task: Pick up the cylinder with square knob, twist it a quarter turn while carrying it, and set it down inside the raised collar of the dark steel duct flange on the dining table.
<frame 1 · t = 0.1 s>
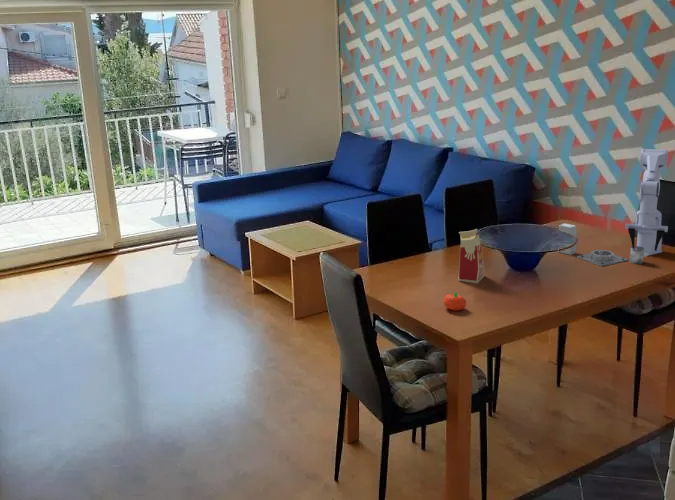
hand: (644, 249, 266), 11 cm above the table, tool pointing down, fingers open, 7 cm apart
duct flange: (602, 258, 291), on the table
cylinder with square knob: (635, 262, 285), on the table
pumpkin: (453, 309, 246), on the table
milk carton: (469, 278, 275), on the table
skincare box: (566, 253, 300), on the table
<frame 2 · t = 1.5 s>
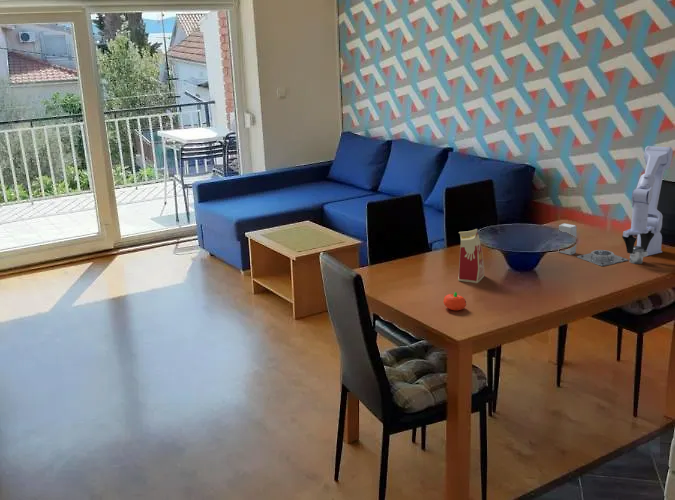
hand: (636, 251, 284), 4 cm above the table, tool pointing down, fingers open, 7 cm apart
nothing on the table moved.
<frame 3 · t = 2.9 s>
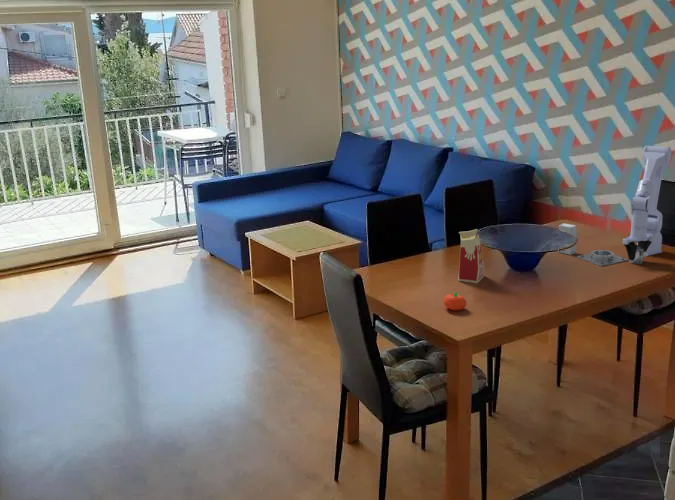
hand: (636, 258, 285), 1 cm above the table, tool pointing down, fingers closed on cylinder with square knob, 5 cm apart
cylinder with square knob: (635, 262, 285), on the table, touching gripper
everything else where it was.
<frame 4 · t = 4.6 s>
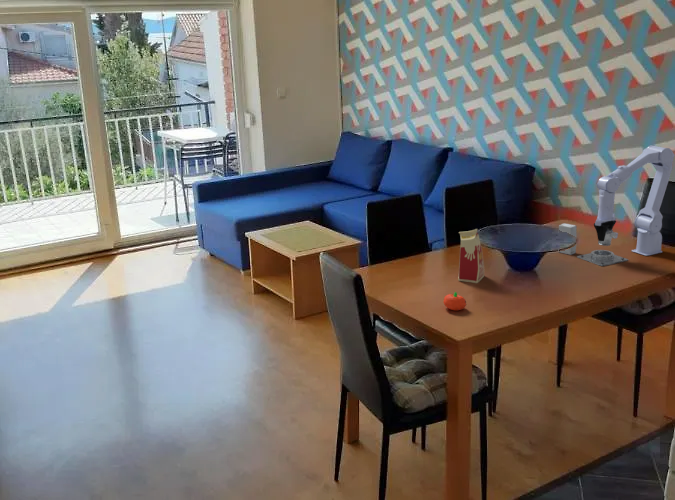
hand: (603, 239, 288), 8 cm above the table, tool pointing down, fingers closed on cylinder with square knob, 5 cm apart
cylinder with square knob: (604, 243, 288), point 7 cm above the table, touching gripper
everything else where it was.
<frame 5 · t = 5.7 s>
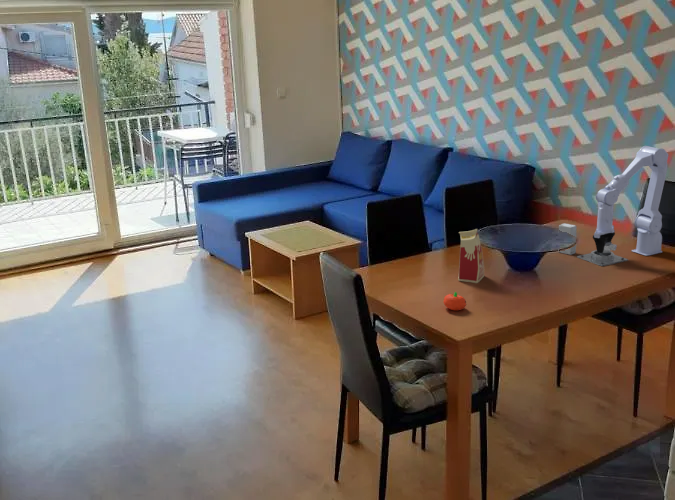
hand: (602, 250, 290), 3 cm above the table, tool pointing down, fingers closed on cylinder with square knob, 5 cm apart
cylinder with square knob: (603, 255, 290), point 1 cm above the table, touching gripper
everything else where it was.
when the fingers open (3 cm above the table, at t = 6.4 s): cylinder with square knob stays where it is, resting on duct flange.
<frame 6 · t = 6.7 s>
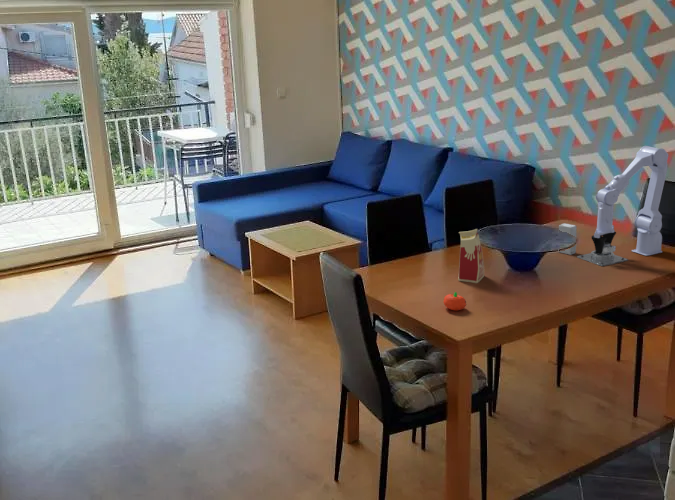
hand: (602, 250, 290), 3 cm above the table, tool pointing down, fingers open, 7 cm apart
cylinder with square knob: (603, 257, 290), point 1 cm above the table, touching duct flange
everything else where it was.
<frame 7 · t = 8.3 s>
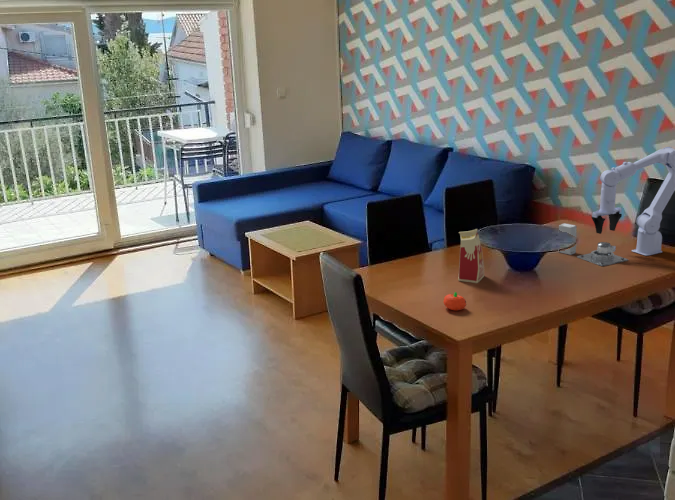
hand: (605, 231, 294), 9 cm above the table, tool pointing down, fingers open, 7 cm apart
nothing on the table moved.
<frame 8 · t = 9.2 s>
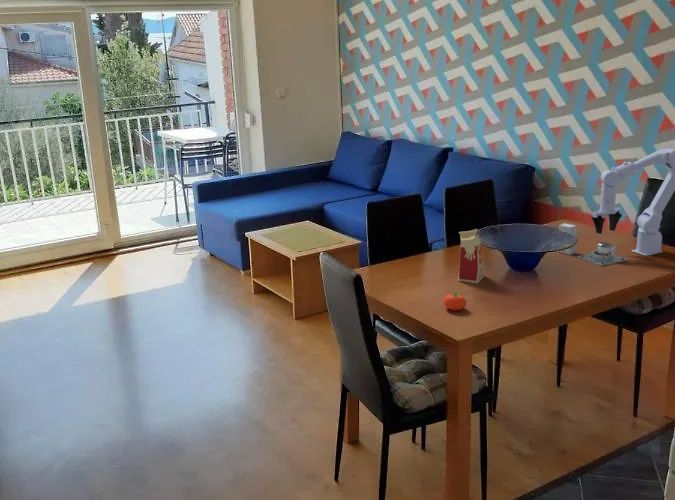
hand: (605, 231, 294), 9 cm above the table, tool pointing down, fingers open, 7 cm apart
nothing on the table moved.
at the end: cylinder with square knob 0.3 cm off-centre on the duct flange, point 0.5 cm above the duct flange's base; cylinder with square knob tilted 1°; the gripper is holding nothing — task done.
